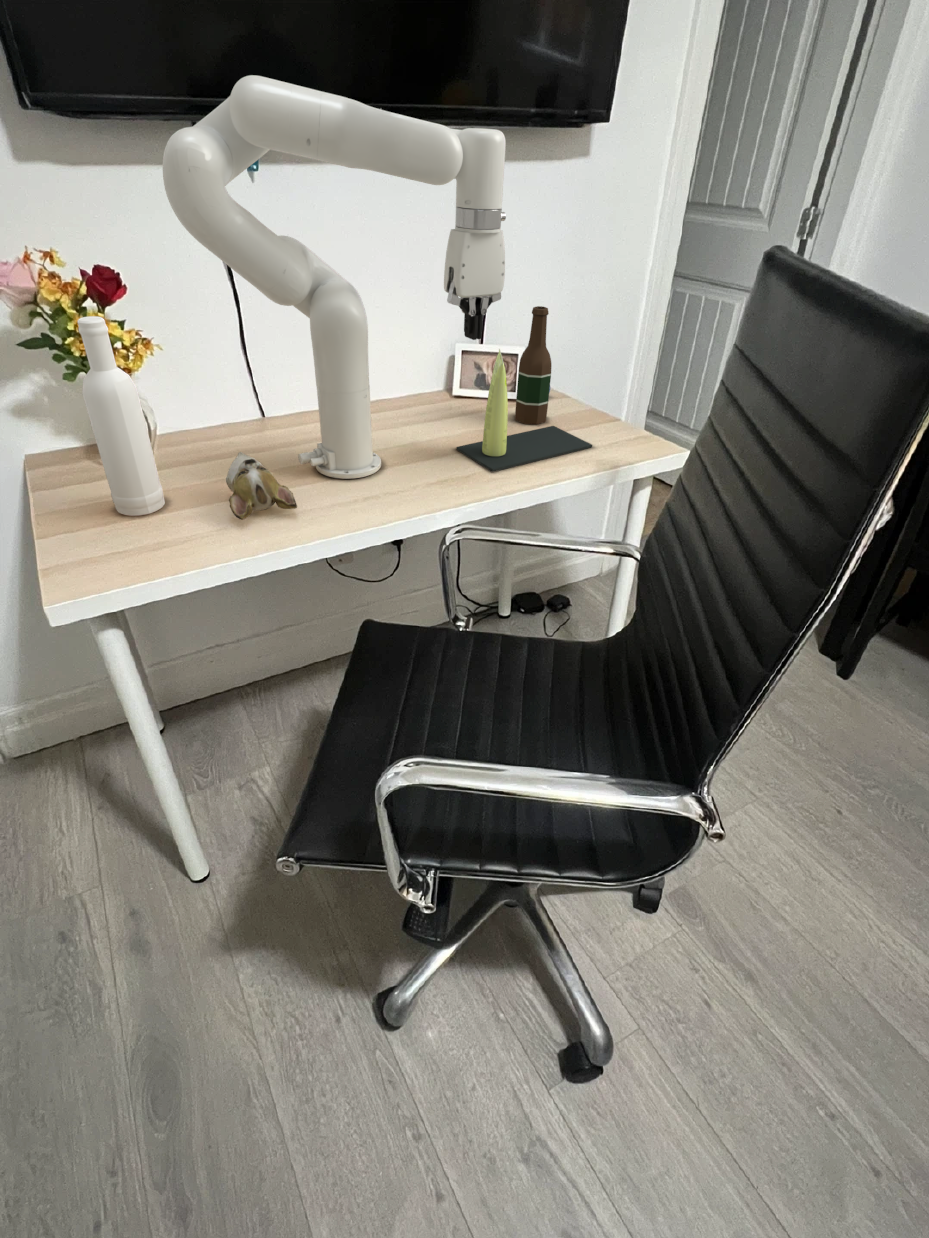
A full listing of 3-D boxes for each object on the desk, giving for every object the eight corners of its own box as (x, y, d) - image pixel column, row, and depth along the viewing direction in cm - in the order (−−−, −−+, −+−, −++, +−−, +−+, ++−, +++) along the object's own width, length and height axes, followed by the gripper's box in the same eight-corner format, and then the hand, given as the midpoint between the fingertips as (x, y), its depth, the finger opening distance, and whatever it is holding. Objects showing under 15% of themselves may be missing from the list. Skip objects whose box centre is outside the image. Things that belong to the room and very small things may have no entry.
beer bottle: (508, 414, 160) (516, 304, 146) (539, 412, 162) (550, 303, 148) (520, 426, 154) (530, 312, 140) (552, 424, 156) (565, 311, 142)
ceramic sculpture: (268, 438, 120) (297, 474, 110) (274, 482, 126) (302, 521, 116) (206, 448, 116) (231, 487, 106) (215, 494, 121) (239, 535, 111)
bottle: (150, 491, 121) (103, 310, 104) (175, 505, 118) (130, 319, 100) (106, 506, 116) (49, 318, 99) (131, 521, 112) (76, 328, 95)
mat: (492, 472, 133) (492, 469, 133) (456, 449, 142) (456, 446, 142) (592, 447, 145) (592, 444, 145) (553, 428, 154) (553, 425, 154)
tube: (513, 454, 139) (521, 355, 128) (496, 460, 137) (502, 359, 125) (493, 446, 143) (499, 348, 131) (476, 452, 140) (480, 352, 128)
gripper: (501, 217, 119) (494, 329, 129) (427, 219, 111) (426, 337, 122) (528, 222, 114) (518, 338, 124) (452, 224, 107) (449, 347, 117)
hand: (472, 337), depth 123 cm, fingers closed
